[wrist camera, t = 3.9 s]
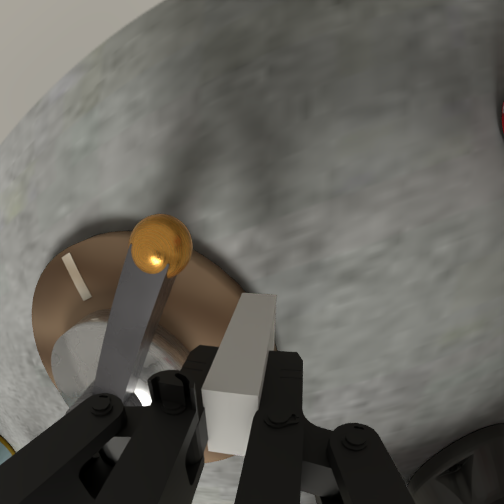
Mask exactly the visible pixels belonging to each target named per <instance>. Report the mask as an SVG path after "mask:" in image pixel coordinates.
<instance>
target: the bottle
mask: <svg viewBox="0 0 504 504" xmlns="http://www.w3.org/2000/svg"><path fill="white" fill-rule="evenodd" d="M14 454H15V451H14V450H13V448H12V447H11V446H10V445H9V443H8V442H7V441H6V440H5V439H3V438H2V437H1V436H0V465H1V464H2V463H3V462H5V461H6V460H7V459H9V458H10V457H11V456H13V455H14Z"/></svg>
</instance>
